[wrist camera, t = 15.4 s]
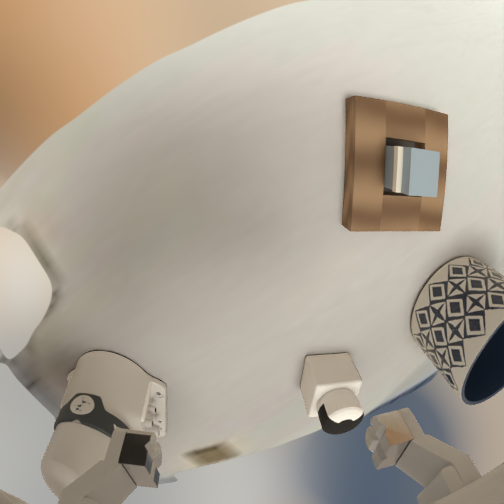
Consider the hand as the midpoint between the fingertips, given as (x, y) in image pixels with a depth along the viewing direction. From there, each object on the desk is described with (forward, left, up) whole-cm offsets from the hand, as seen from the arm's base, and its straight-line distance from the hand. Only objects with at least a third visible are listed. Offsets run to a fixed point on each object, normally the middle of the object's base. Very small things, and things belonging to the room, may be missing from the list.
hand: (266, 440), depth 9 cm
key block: (+8, -19, -28) cm, 35 cm away
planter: (-14, -36, -29) cm, 48 cm away
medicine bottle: (-24, -13, -29) cm, 40 cm away
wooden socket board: (+8, -20, -29) cm, 36 cm away
